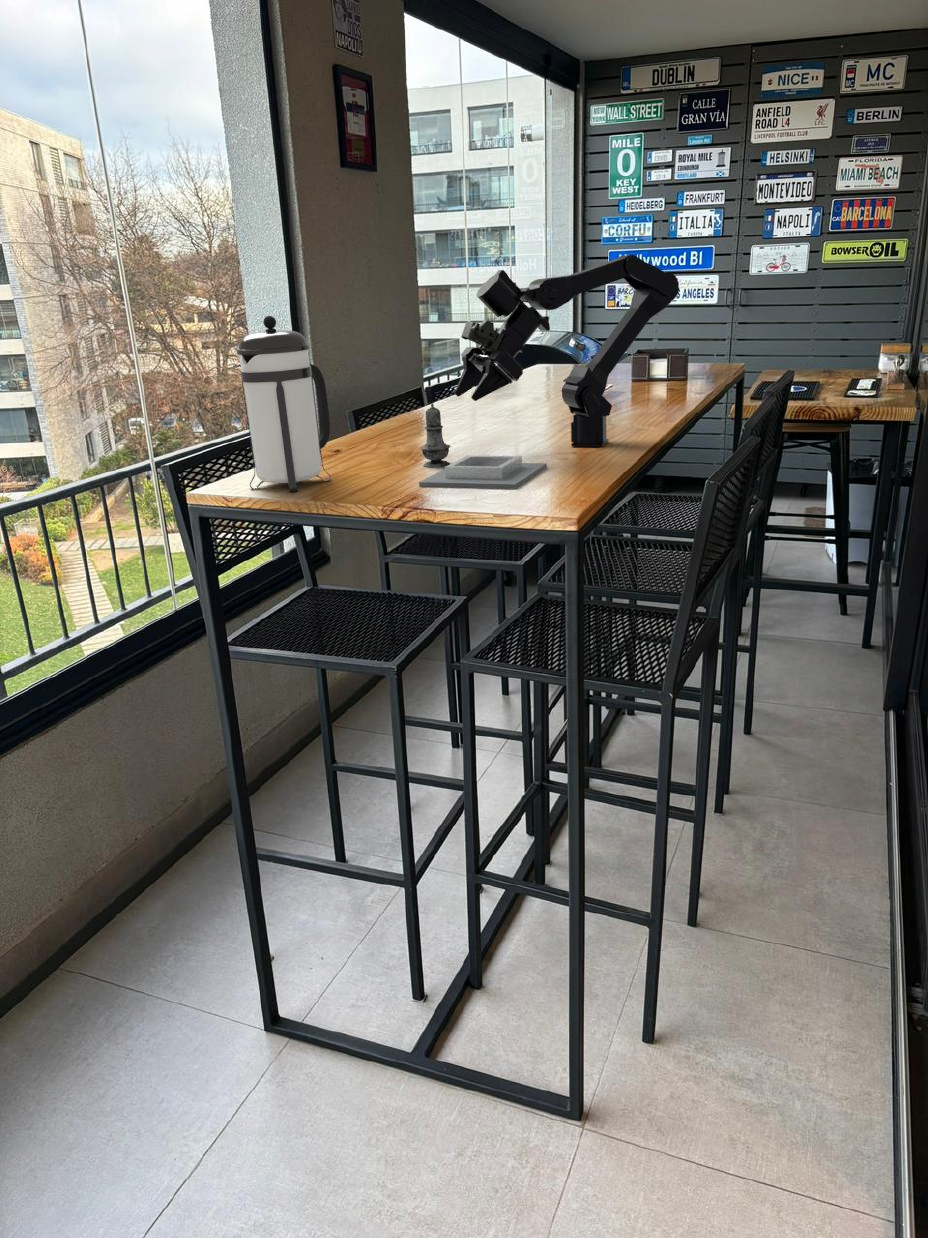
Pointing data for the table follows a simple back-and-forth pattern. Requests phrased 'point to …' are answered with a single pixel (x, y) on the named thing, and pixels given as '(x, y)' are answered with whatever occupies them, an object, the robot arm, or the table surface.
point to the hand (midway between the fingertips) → (464, 397)
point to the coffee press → (283, 406)
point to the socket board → (507, 483)
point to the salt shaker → (434, 440)
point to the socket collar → (483, 467)
